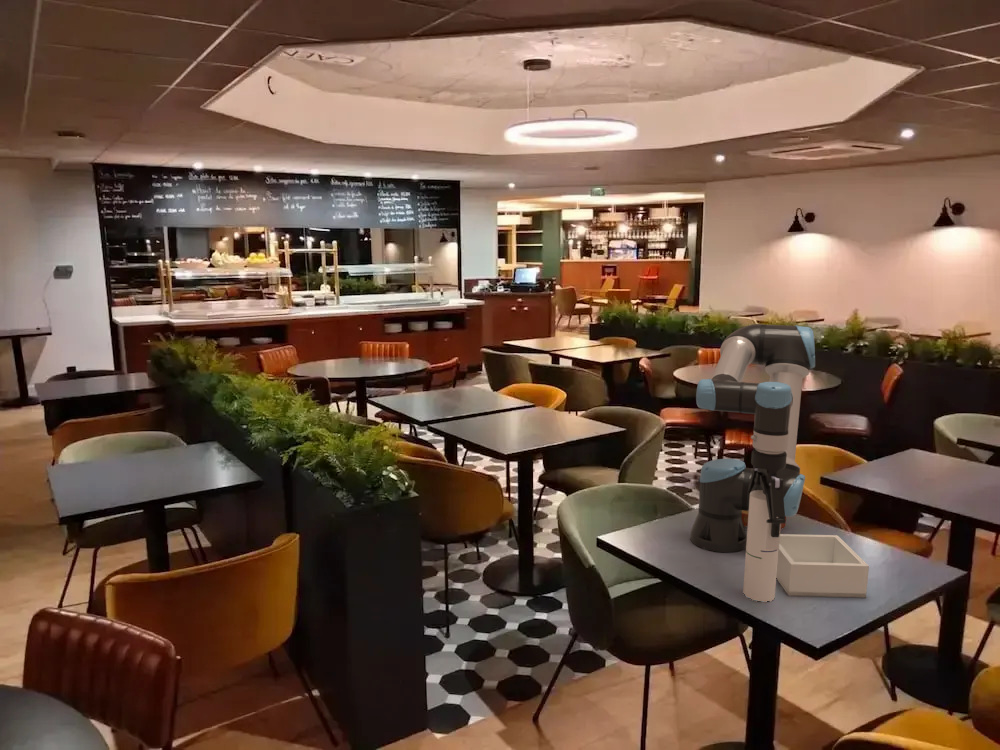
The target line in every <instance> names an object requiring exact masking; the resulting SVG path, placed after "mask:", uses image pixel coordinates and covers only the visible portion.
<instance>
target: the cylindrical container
mask: <svg viewBox="0 0 1000 750" xmlns="http://www.w3.org/2000/svg"><path fill="white" fill-rule="evenodd" d="M776 518H778V517H776ZM768 519H769V513H768V507H767V500H766V495H765V494H763V490H755V491H752V492H750V499H749V514H748V527H746V528H747V531H746V536H747V543H746V547H745V561H744V571H743V572H744V575H743V586H742V594H743V593H744V594H745V595H746V596H747V597H749V598H751V599H753V600H758V601H764V602H763V603H768V602H767V601H770V602H772V600H773V601H774V600H775V599H774V598H775V597H776V585H777V579H776V575H777V562H778V550H767V549H766V538H767V525H768V523H767V522H766V521H767V520H768ZM744 594H743V595H744ZM747 597H746V598H747ZM751 599H750V600H751ZM753 600H752V601H753Z"/></svg>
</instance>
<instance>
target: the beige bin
mask: <svg viewBox="0 0 1000 750" xmlns="http://www.w3.org/2000/svg"><path fill="white" fill-rule="evenodd" d="M869 569H870V565H869V564H868V563H866V562H865V561H864V559H863V558H861V556H859V555H858V554H857V552H856V551H854V549H852V548H851V547H850V546H849V545H848V544H847V543H846V542H845V541H844V540H843V539H842V538H841V537H840V536H839V535H836V534H833V535H832V534H799V533H798V534H792V533H790V534H788V533H780V543H779V550H778V562H777V575H776V578H777V579H776V581H778V583H779V584H780V586H781V587H782V588H783V591H785V593H786V594H787V595H788V597H789V596H790V597H791V596H792V597H794V596H795V597H824V598H825V597H828V598H829V597H831V598H865V599H866V598H867V589H868V581H869V580H868V578H869V571H870V570H869Z"/></svg>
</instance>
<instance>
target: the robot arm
mask: <svg viewBox="0 0 1000 750" xmlns="http://www.w3.org/2000/svg"><path fill="white" fill-rule="evenodd" d="M719 349H720V350H719V354H720V357H719V359H718V361H717V364H716V366H715V369H714V371H713V373H712V376H711V378H706V379H704V378H702V379H700V380H699V381H698V383H697V387H696V394H695V401H696V405H697V407H698V408H699V409H702V410H708V411H709V410H710V411H717V412H728V413H729V412H730V413H741V414H749V415H750V414H751V415H754V419H753V420H754V421H753V422H754V424H753V435H751V436H750V439H751V440H752V447H753V449H752V450H751V460H750V463H751V465H752V467H753V468H751V467H750V468H749V467H747V466H746V463H745V462H744V461H743V460H740V459H736V458H719V459H712V460H710V461H707V462H705V463H704V464H703V465H702V466H701V468H700V474H699V475H700V476H699V477H700V478H699V493H698V495H699V496H698V511H697V512H698V513H697V515H696V517H695V520H694V522H693V525H692V527H691V530H690V541H691V542H692V543H693V544H694V545H695V546H697V547H699V548H701V549H703V550H704V549H705V550H707V551H713V552H718V553H736V552H739V551H743V550H745V549H746V543H747V531H746V529H745V526H744V525H743V521H742V510H744V511H749V499H750V492H752V491H755V490H763V494H765V495H766V500H767V507H768V513H769V519H768V520H767V521H766V522H767V523H768V525H767V538H766V549H767V550H779V543H780V534H781V531H782V530H781V523H784V524H785V522H786V523H787V519H786V520H785V516H786V518H787V517H789V518H790V517H794V516H796V515H797V513H798V510H799V508H800V503H801V499H802V494H803V490H804V485H805V481H806V476H805V475H804V474H802V473H801V467H800V466H799V464H797V462H796V452H797V451H796V450H797V439H798V429H799V422H800V421H799V418H800V410H801V409H800V408H801V397H802V388H803V379H804V378H806V377H807V376H808V375H809V374H810V369H811V370H812V369H814V368H815V367H816V354H815V352H816V350H815V349H816V348H815V334H814V331H813V329H812V328H811V327H808V326H800V325H796V324H795V325H788V324H787V325H783V324H762V323H755V324H748V325H746V326H742V327H740V328H738V329H736V330H734V331H733V332H731V333H730V334H729V335H727V337H726V338H725V339H724V340H723V342H722V343H721V346H720V348H719ZM749 365H764V366H765V367H764V371H765V372H766V373H767V375H768V376H769V380H768V381H764V382H760V383H758V382H745V381H744V378H745V375H746V373H747V369H748V367H749ZM776 517H778V518H776Z"/></svg>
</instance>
